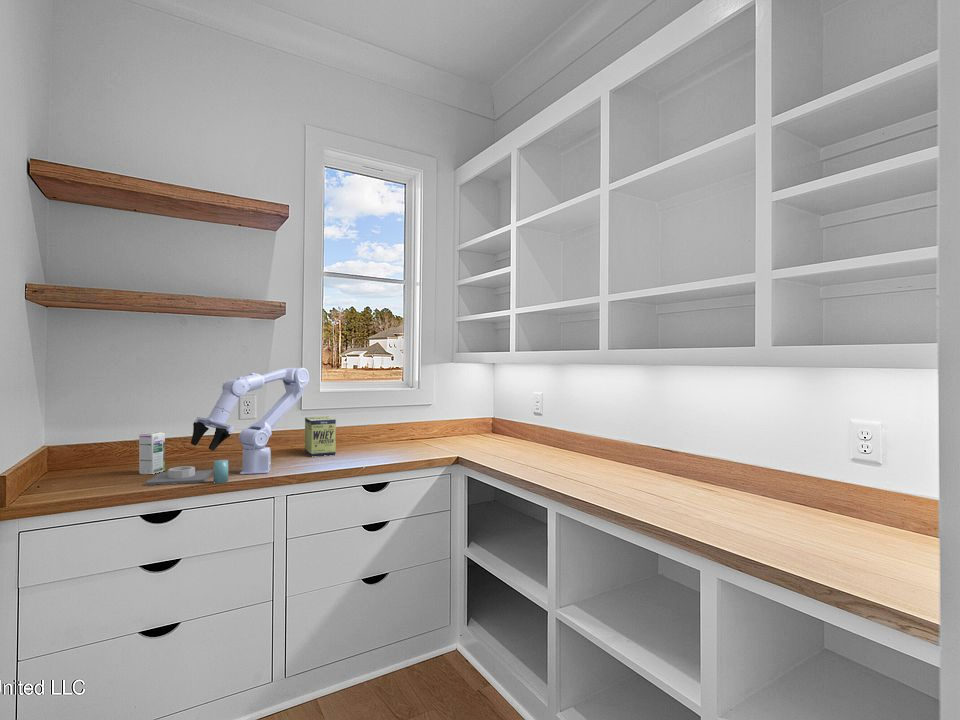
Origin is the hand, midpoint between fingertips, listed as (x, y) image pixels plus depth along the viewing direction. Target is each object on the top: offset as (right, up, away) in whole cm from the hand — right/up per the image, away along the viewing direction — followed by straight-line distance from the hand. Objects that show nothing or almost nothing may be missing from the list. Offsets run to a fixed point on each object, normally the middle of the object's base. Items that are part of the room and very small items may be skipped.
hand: (201, 447), depth 173 cm
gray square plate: (-9, -12, +4) cm, 15 cm away
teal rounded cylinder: (+6, -12, 0) cm, 13 cm away
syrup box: (-25, -12, +13) cm, 31 cm away
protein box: (+23, -12, +54) cm, 60 cm away
